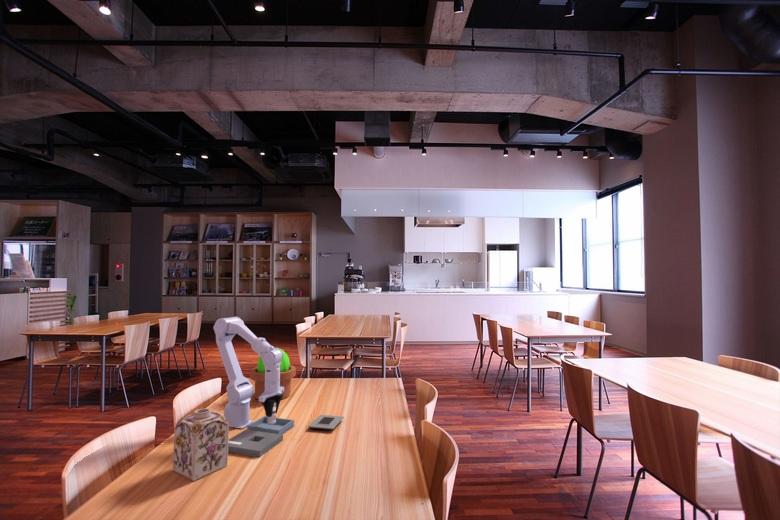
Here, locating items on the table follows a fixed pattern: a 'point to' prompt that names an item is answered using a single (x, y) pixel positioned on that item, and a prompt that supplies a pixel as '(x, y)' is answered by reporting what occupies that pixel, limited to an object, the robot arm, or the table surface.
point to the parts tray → (277, 428)
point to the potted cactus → (285, 376)
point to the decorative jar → (200, 444)
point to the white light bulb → (272, 419)
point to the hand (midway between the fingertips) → (271, 414)
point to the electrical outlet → (325, 422)
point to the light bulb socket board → (253, 442)
